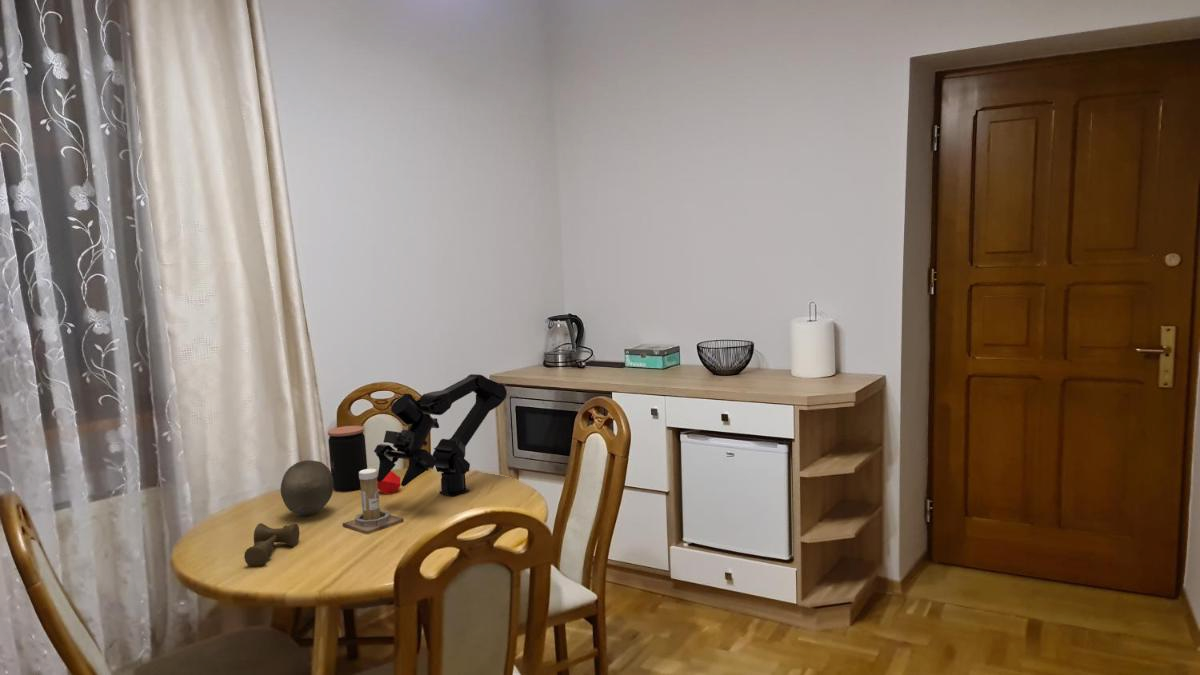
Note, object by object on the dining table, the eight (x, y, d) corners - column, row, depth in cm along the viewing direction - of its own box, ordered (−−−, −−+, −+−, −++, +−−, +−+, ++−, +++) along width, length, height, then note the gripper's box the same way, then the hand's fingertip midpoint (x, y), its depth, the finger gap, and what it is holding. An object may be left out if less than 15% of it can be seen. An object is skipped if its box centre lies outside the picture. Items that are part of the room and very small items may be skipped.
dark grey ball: (270, 521, 214) (265, 466, 213) (310, 505, 227) (305, 453, 225) (309, 526, 208) (304, 470, 207) (348, 509, 221) (343, 456, 219)
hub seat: (378, 514, 215) (377, 506, 215) (403, 521, 208) (402, 513, 208) (342, 526, 207) (342, 518, 206) (367, 534, 200) (366, 525, 200)
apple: (403, 469, 240) (376, 464, 237) (405, 479, 234) (378, 473, 231) (395, 490, 241) (369, 484, 238) (397, 500, 235) (371, 495, 232)
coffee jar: (342, 482, 249) (337, 425, 247) (374, 481, 248) (370, 425, 246) (326, 492, 239) (320, 433, 237) (359, 492, 237) (354, 433, 235)
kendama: (234, 571, 181) (268, 537, 201) (276, 570, 181) (306, 536, 201) (232, 546, 180) (266, 514, 200) (274, 544, 181) (304, 513, 200)
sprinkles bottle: (379, 522, 206) (375, 472, 204) (361, 524, 205) (357, 473, 204) (382, 517, 210) (378, 467, 209) (364, 518, 210) (360, 468, 208)
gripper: (376, 415, 220) (347, 465, 212) (424, 420, 209) (396, 472, 201) (400, 436, 227) (373, 485, 219) (447, 442, 217) (421, 493, 209)
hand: (390, 483), depth 212 cm, fingers open, 9 cm apart
